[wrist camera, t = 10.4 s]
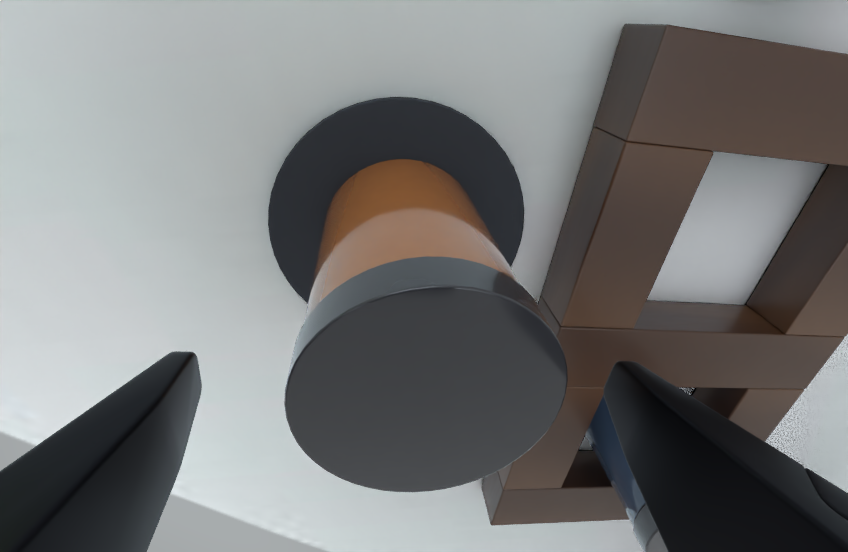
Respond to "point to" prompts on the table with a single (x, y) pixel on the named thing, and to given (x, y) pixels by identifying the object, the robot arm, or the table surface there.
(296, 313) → the table surface
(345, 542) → the table surface
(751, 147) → the jar stand
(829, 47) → the table surface
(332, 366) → the amber jar
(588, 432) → the spice jar
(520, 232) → the coaster
